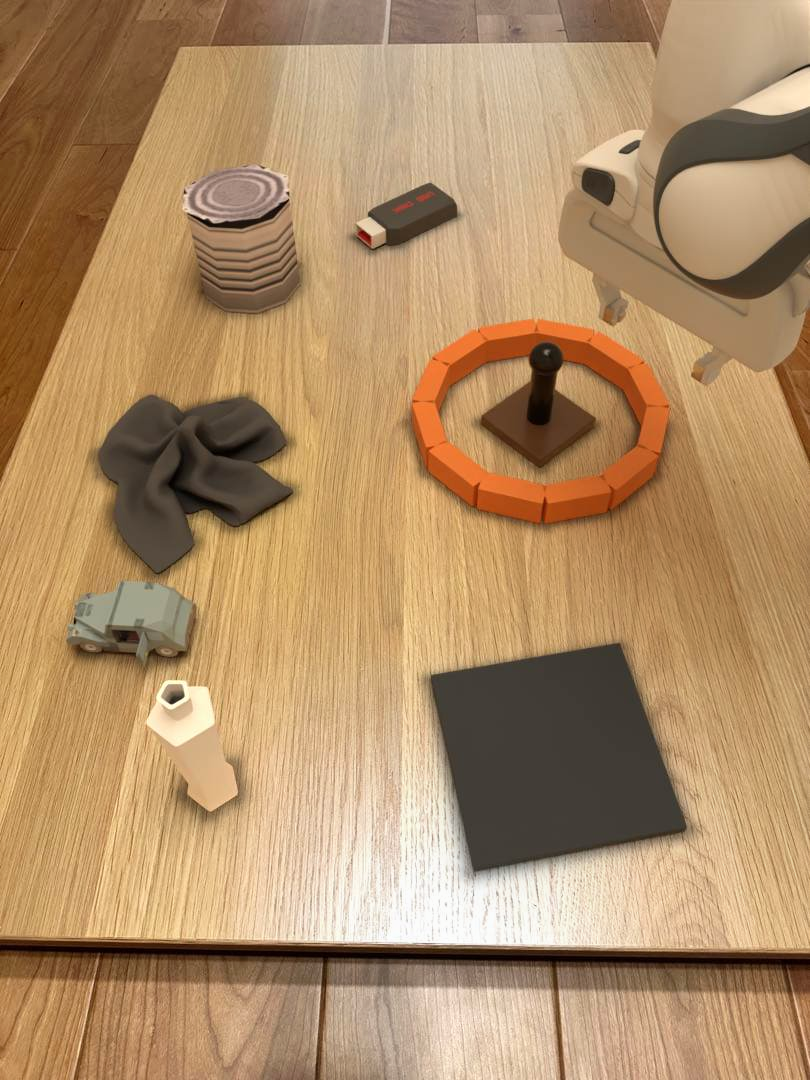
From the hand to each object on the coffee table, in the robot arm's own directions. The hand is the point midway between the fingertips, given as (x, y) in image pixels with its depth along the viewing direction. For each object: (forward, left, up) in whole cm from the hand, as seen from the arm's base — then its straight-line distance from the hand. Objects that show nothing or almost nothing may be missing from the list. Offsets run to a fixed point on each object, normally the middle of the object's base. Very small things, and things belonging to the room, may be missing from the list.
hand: (656, 348), depth 79 cm
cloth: (+40, -9, -17) cm, 44 cm away
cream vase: (+40, +23, -17) cm, 49 cm away
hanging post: (+6, -9, -17) cm, 20 cm away
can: (+32, -37, -17) cm, 52 cm away
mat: (+14, +25, -17) cm, 33 cm away
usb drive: (+13, -44, -17) cm, 49 cm away
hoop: (+6, -9, -17) cm, 20 cm away
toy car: (+46, +9, -17) cm, 50 cm away
